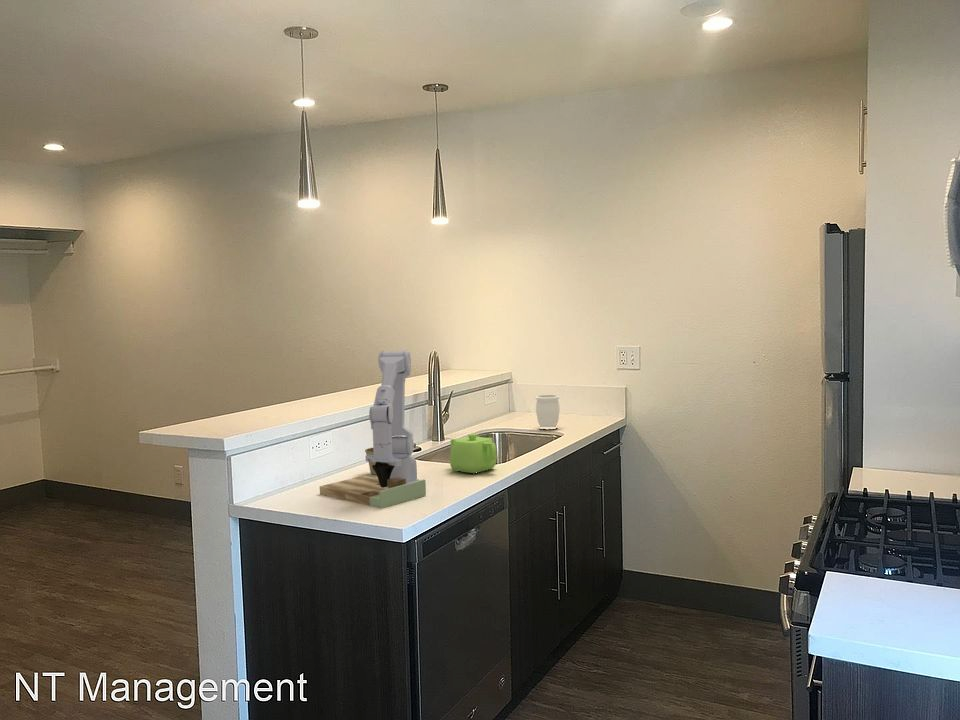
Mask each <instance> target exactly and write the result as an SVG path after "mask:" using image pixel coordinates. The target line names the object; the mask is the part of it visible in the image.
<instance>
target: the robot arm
mask: <svg viewBox="0 0 960 720" xmlns="http://www.w3.org/2000/svg"><path fill="white" fill-rule="evenodd" d="M410 353H411V352H409V351H408V350H392V351H388V350H385V351H384V350H381V351H380V352H379V353H378V359H377V361H378V366H379V367H378V368H379V369H380V371H381V373H382V376H381V385H380V386H378V388H377V389H376V393H375V398H374V402H373V405H372V406H370V407H369V411H368V412H369V415H368V417H369V422H370V429H371V430H372V444H373V447H372V448H373V450H374V455H365V462H367V463H369V461H370V462H376V464H375V465H372V468H373V469H374V471H375V472H376V474H377V475H376V478H378V480H379V483H380V486H381V487H383V488H384V487H387V480H388V479H392V478H396V477H398V478H404V479H406V484H407V483H411V482H415V481H419V480H420V479H418V472H417V470H418V469H417V467H418V465H417V460H416V458H415V456H414V455H412V454H413V453H414V445H415V444H414V437H413V432H412V431H411V430H409V429H408V428H407V427H405V397H406V396H405V392H406V391H405V387H406V386H405V384H406V378H408V377H409V376H411V371H412V369H411V368H412V367H411V366H412V361H411V360H412V359H411V354H410Z"/></svg>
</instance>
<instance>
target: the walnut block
mask: <svg viewBox="0 0 960 720" xmlns="http://www.w3.org/2000/svg"><path fill="white" fill-rule="evenodd" d="M404 484H406V479H404V478H398V477H396V478H392V479H388V480H387V488H388V489H389V488H392V487H396V486H400V485H404Z"/></svg>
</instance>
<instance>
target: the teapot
mask: <svg viewBox="0 0 960 720" xmlns="http://www.w3.org/2000/svg"><path fill="white" fill-rule="evenodd" d="M493 441H494V438H493V437H485V436H484V437H483V436H478V434H477V433H469V434H467V437H462V438H452V439H450V449H449V453H450V456H449V457H450V459H449V463H450V464H449V465H450V467H451V469H452V471H454V472H455V471H456V472H458V471H461V472H460V473H469V474H471V473H476V472H478V473H479V472H480V473H481V472H486V471H485V470H488V469H489V470H492V469H493V468H495V467H496V464H497V459H498V454H497V453H498V451H497V446H496V443H495V442H493ZM494 466H495V467H494ZM489 470H488V471H489Z"/></svg>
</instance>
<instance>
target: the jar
mask: <svg viewBox="0 0 960 720" xmlns="http://www.w3.org/2000/svg"><path fill="white" fill-rule="evenodd" d="M559 399H560V396H559V395H555V394H544V395H542V394H541V395H537V396H535V400H536V405H535V413H536V418H537V422H538V425H539V427H556V426H558V422H559V418H560V403H559Z"/></svg>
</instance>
